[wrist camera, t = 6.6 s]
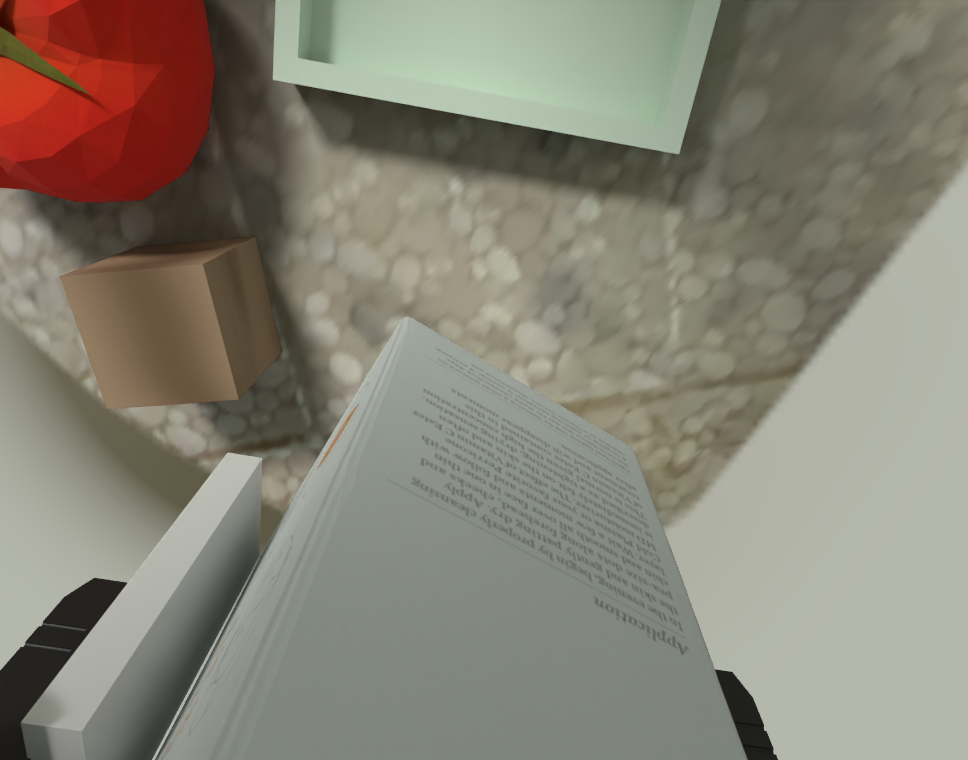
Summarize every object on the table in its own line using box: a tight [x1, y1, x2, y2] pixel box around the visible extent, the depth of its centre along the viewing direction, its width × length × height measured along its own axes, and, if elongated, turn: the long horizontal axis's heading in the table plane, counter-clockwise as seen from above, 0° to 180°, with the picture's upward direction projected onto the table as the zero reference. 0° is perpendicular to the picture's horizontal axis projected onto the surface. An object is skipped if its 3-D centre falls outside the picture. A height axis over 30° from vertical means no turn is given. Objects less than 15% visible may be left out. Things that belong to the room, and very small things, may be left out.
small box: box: [155, 317, 748, 760], centre depth 10 cm, size 8×6×13 cm
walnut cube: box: [60, 236, 282, 409], centre depth 25 cm, size 5×5×5 cm
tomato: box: [0, 0, 215, 203], centre depth 20 cm, size 10×11×6 cm
